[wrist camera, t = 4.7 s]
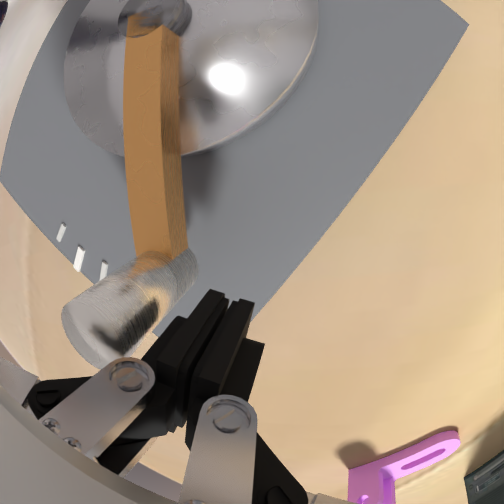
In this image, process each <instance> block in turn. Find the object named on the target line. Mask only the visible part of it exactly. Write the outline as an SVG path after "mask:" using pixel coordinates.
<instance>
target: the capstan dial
mask: <svg viewBox="0 0 504 504" xmlns="http://www.w3.org/2000/svg"><path fill="white" fill-rule="evenodd" d="M317 39H318V0H90V1H89V3H88V4H87V6H86V8H85V9H84V11H83V12H82V14H81V16H80V18H79V20H78V21H77V23H76V25H75V28H74V30H73V33H72V35H71V38H70V41H69V44H68V48H67V51H66V57H65V63H64V77H63V78H64V91H65V96H66V101H67V104H68V107H69V110H70V113H71V115H72V117H73V119H74V121H75V122H76V124H77V126H78V127H79V128H80V129H81V131H82V132H83V133H84V134H85V135H86V136H87V137H88V138H89V139H90V140H91V141H92V142H93V143H95V144H96V145H98V146H99V147H101V148H102V149H104V150H107V151H109V152H111V153H114V154H116V155H120V156H124V157H125V169H126V181H127V192H128V201H129V210H130V218H131V225H132V232H133V239H134V245H135V251H136V257H135V258H133V259H132V260H130V261H129V262H127V263H126V264H124V265H123V266H121V267H120V268H118V269H117V270H115V271H114V272H112V273H111V274H109V275H108V276H106V277H105V278H103V279H102V280H100V281H99V282H97V283H96V284H94V285H93V286H91V287H90V288H88V289H87V290H86V291H84V292H83V293H81V294H80V295H78V296H77V297H76V298H74V299H73V300H71V301H70V302H69V303H67V304H66V305H65V306H64V307H63V309H62V315H61V316H62V324H63V328H64V330H65V333H66V335H67V337H68V339H69V341H70V342H71V344H72V345H73V347H74V348H75V349H76V351H77V352H78V353H79V354H80V355H81V356H82V357H83V358H84V359H85V360H86V361H87V362H89V363H90V364H91V365H93V366H94V367H96V368H98V369H100V370H101V369H103V368H104V367H105V366H106V365H108V364H109V363H110V362H112V361H114V360H115V359H119V358H122V357H130V356H131V355H132V354H133V353H134V352H135V350H136V349H137V348H138V347H139V346H140V345H141V344H142V342H143V341H144V340H145V339H146V338H147V337H148V335H149V334H150V333H151V332H152V331H153V330H154V329H155V327H156V326H157V325H158V324H159V323H160V322H161V321H162V319H163V318H164V317H165V316H166V315H167V314H168V313H169V311H170V310H171V309H172V308H173V307H174V306H175V305H176V303H177V302H178V301H179V300H180V299H181V298H182V297H183V296H184V294H185V293H186V292H187V291H188V290H189V289H190V288H191V287H192V285H193V284H194V283H195V282H196V280H197V277H198V272H199V267H198V262H197V259H196V257H195V255H194V254H193V252H192V251H191V250H190V249H189V247H188V240H187V230H186V219H185V208H184V196H183V183H182V168H181V157H185V156H191V155H197V154H201V153H205V152H208V151H212V150H215V149H218V148H220V147H222V146H225V145H227V144H230V143H232V142H234V141H236V140H238V139H239V138H241V137H243V136H245V135H247V134H249V133H250V132H252V131H253V130H255V129H256V128H257V127H259V126H260V125H262V124H263V123H264V122H266V121H267V120H268V119H269V118H270V117H271V116H273V115H274V114H275V113H276V112H277V111H278V110H279V109H281V107H282V106H283V105H284V104H285V103H286V102H287V101H288V99H289V98H290V97H291V96H292V95H293V94H294V92H295V91H296V89H297V88H298V86H299V85H300V84H301V82H302V81H303V79H304V77H305V75H306V73H307V71H308V69H309V67H310V65H311V63H312V60H313V56H314V53H315V50H316V46H317Z"/></svg>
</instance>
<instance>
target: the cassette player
mask: <svg viewBox="0 0 504 504" xmlns="http://www.w3.org/2000/svg"><path fill="white" fill-rule="evenodd" d="M464 481H465V486H466V492H467V498H468V504H504V450H503V451H502V452H501V453H499V454H498V455H497V456H495V457H494V458H493V459H491V460H490V461H488V462H487V463H486V464H484V465H483V466H481V467H480V468H478V469H477V470H475V471H474V472H472V473H471V474H469V475H467V476H466V477H464Z"/></svg>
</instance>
